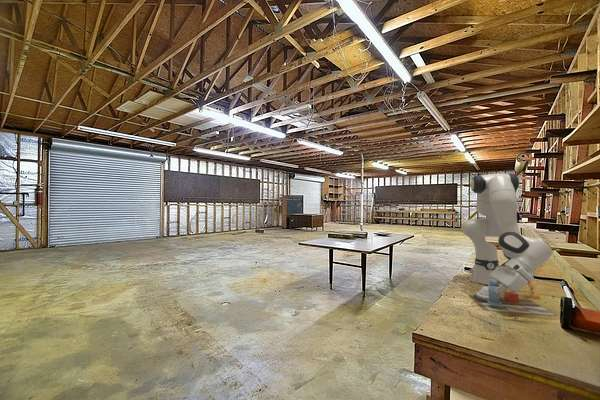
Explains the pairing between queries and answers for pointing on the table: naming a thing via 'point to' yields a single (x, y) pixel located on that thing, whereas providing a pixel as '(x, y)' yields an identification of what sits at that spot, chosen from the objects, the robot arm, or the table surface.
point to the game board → (512, 306)
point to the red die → (511, 296)
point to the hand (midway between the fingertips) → (492, 290)
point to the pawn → (493, 293)
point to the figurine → (533, 294)
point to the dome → (483, 293)
